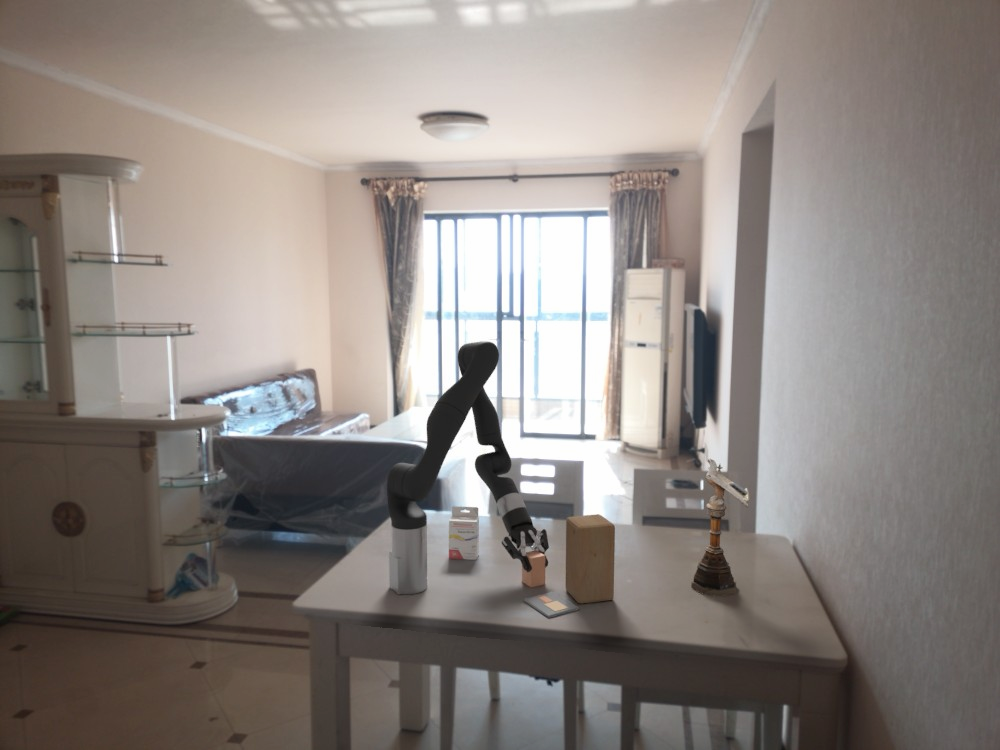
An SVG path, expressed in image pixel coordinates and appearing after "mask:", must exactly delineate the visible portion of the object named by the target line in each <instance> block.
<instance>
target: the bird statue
mask: <svg viewBox="0 0 1000 750" xmlns="http://www.w3.org/2000/svg"><path fill="white" fill-rule="evenodd" d="M707 463H708V464H709V466H708V467H707V469H708V471H707V473H706V475H705V479H706V481H707V483H708V484H709V485H711V486H712V487H713V488H714V492H715V493H714V495H713V496H711V497H710V499H709V501H708V503H706V505H705V506H706V508H707V512H706V513H707V515H708V516H710V517H709V518H710V529H709V531H708V532H709V535H710V537H709V545H707V546H706V548H705V549H704V551H705V553H704V555H703V556H702V558H700V560H699V562H698V564H697V567H696V568H697V569H696V571H695V573H694V575H693V577H692V580H691V586H690V587H691V589H693V588H694V589H693V590H695V591H697V592H698V591H699V592H698V593H700V592H701V593H700V594H702V593H703V594H702V595H706V594H710V595H709V596H713V595H715V596H714V597H719V596H721V597H726V596H731V594H732V595H735V594H736V589H737V581H736V580H735V579H734V576H733V574H732V570H731V568H732V567H731V566H730V565H729V562H727V559H726V556H725V555H724V549H723V548H722V547H721V545H720V544H721V542H720V541H721V535H722V531H721V526H722V525H721V522H722V518H723V517H724V516H725V515H726V512H725V511H726V509H727V505H726V504H725V499H724V496H725V491H727V493H730V495H732V496H733V497H734V498H736V499H737V500H738V501H739V502H740V503H741V504H743V506H745V507H746V508H749V502H750V500H751V499H750V492H749V488H748V487H745V488H743V487H742V486H741V485H739V484H737V483H736V482H735V481H732V480H730V479H729V478H728V477H726V476H725V475H723V473H722V470H721V469H723V466H722V465H721V463H719V464H718V465H717V463H716V461H715V460H714V459H711V458H708V459H707Z"/></svg>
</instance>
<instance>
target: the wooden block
mask: <svg viewBox="0 0 1000 750" xmlns="http://www.w3.org/2000/svg"><path fill="white" fill-rule="evenodd" d="M565 527H566V528H565V590H566V591H567V592H568V593H569V595H570V596H571V597H572V598H573V599H574V600H575V602H577V603H578V604H589V603H596V602H597V603H598V602H606V601H612V600H614V596H615V592H614V591H615V588H614V587H615V552H616V551H615V548H616V547H615V546H616V545H615V543H616V541H615V540H616V538H615V537H616V527H615V524H614V523H612V522H611V521H610V520H609V519H607V518H605V516H602V515H601V514H586V515H575V516H568V517H567V518H566V521H565Z"/></svg>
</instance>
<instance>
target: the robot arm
mask: <svg viewBox="0 0 1000 750" xmlns="http://www.w3.org/2000/svg"><path fill="white" fill-rule="evenodd" d="M499 361H500V352H499V349H498V346H497V345H496V344H495V343H494V342H493V341H492V342H491V341H487V340H485V341H484V340H482V341H476V342H475V341H474V342H468V343H465V344H463V345H461V346H460V347H459V349H458V352H457V364H458V368H459V371H460V374H461V377H460V378H459V379H458V380H457V381H456V382H455V383H454V384H453V385H451V386H450V387H449V388H448V389H447V390H446V391H445V392H443V394H442V395H441V396H440V397H439V398H438V399H437V401H436V402H435V404H434V407H433V408H432V410H431V412H430V414H429V415H428V418H427V421H426V442H427V443H426V447H425V450H424V453H423V454H422V456H421V458H420V460H419V461H418V463H417V464H414V463H413V464H412V463H407V462H397V463H396V464H394V465H393V466H391V468H390V469H389V472H388V475H387V478H386V497H387V499H386V500H387V513H388V516H389V518H390V522H391V551H389V553H388V554H389V555H388V563H389V564H388V567H389V569H388V571H389V572H388V573H389V574H388V575H389V578H388V579H389V581H388V582H389V588H390V589H392V590H393V592H395V594H397V595H403V594H404V595H412V594H413V595H415V594H418V593H422V592H423V591H425V590H427V588H428V535H427V534H428V530H427V529H428V526H427V523H428V522H427V520H428V518H427V517H428V515H427V513H426V512H425V511H424V510H423V509H422V508H421V507H420V506H418V504H417V502H422V501H424V500H425V499H427V498H428V496H429V495H430V493H431V491H432V490H433V488H434V486H435V483H436V481H437V478H438V476H439V474H440V471H441V468H442V466H443V464H444V461H445V459H446V457H447V455H448V453H449V450H450V449H451V446H452V444H453V442H454V441H455V439H456V437H457V435H458V433H459V432H460V430H461V429H462V426H463V424H464V423H465V422H466V418H467V416H468V415H469V413H470V411H471V409H472V415H473V420H474V427H475V432H476V439H477V443H478V444H479V445H481V446H491V447H493V449H494V451H491V452H487V453H482V454H479V455H478V456H476V459H475V461H474V468H475V471H476V473H477V475H478V476H479V478H480V479H481V480H482V482H483V483H485V485H486V487H487V488H488V489H489V491H490V492H491V494H492V496H493V499H494V500H495V503H496V506H497V510H498V513H499V516H500V518H501V520H502V522H503V524H504V527H505V529H506V530H505V531H506V532H507V534H508V536H505V537H503V539H502V541H501V545H502V547H504V549H505V550H506V551H507V553H508V555H510V557H511V558H512V560H515V559H517V560H519V561H520V563H521V566H522V565H523V568H524V570H526V571H527V572H530V571H531V570H532V566H531V565H530V562H529V560H528V557H527V556H526V552H527V550H526V548H527V547H529V548H530V550H531V551H535V550H537V551H538V552H540V553H542V554H544V555H545V569H546V568H547V567H548V566H549V560H548V558H547V555H546V552H547V551H548V550H549V548H550V545H549V539H548V534H547V530H546V529H542V530H539V529H538V530H537V528H536V527H535V526H534V525H533V524H534V523H533V521H532V517H531V516H530V513H529V511H528V509H527V507H526V504H525V501H524V500H523V497H521V495H520V492H519V490H518V488H517V485H516V483H515V481H514V479H512V478H511V477H507V476H502V475H506V474H508V473H509V472H510V471H511V469H512V459H511V456H510V454H509V453H508V450H507V448H506V446H505V443H504V440H503V438H502V435H501V433H502V432H501V428H500V427H501V426H500V421H499V416H498V412H497V409H496V408H495V406H494V404H493V402H492V401H491V399H490V398H489V396H488V394H487V392H486V390H485V387H484V386H485V384H486V383H487V382H488V380H489V379H490V378H491V376H492V374H494V371H495V370H496V368H497V366H498V363H499Z"/></svg>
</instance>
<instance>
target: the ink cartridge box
mask: <svg viewBox="0 0 1000 750" xmlns="http://www.w3.org/2000/svg"><path fill="white" fill-rule="evenodd" d="M463 511H469V512H463ZM479 525H480V517H479V508H478V507H477V506H456V505H455V506H451V517H450V519H449V520H448V559H453V560H454V559H455V560H469V561H470V560H471V561H472V560H474V561H476V560H478V558H479V557H478V556H479V552H480V551H479V549H480V547H479V545H480V544H479V542H480V541H479V540H480V537H479V536H480V526H479Z"/></svg>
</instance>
